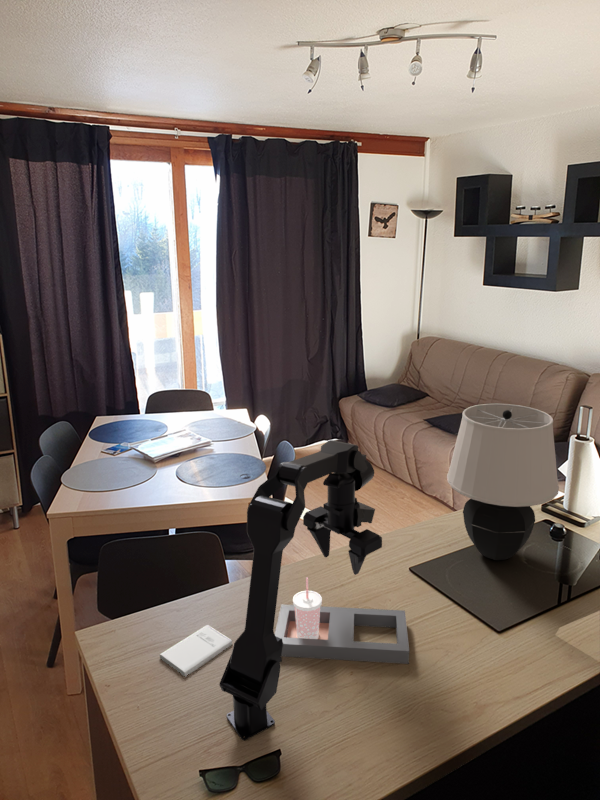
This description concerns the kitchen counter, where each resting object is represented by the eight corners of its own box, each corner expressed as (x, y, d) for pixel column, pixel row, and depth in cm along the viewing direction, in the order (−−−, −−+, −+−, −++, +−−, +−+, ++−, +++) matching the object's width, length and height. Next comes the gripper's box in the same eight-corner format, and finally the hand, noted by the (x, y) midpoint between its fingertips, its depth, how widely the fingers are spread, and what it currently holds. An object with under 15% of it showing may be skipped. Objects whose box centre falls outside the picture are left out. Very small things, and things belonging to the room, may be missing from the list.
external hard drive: (160, 660, 120) (207, 629, 129) (185, 679, 115) (232, 646, 124) (159, 653, 120) (206, 623, 128) (184, 672, 114) (232, 639, 123)
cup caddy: (404, 622, 130) (404, 610, 129) (408, 663, 117) (409, 651, 116) (281, 615, 132) (281, 604, 132) (273, 655, 120) (272, 643, 119)
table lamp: (496, 522, 173) (507, 390, 162) (574, 566, 150) (593, 416, 139) (421, 544, 162) (428, 404, 151) (493, 596, 138) (507, 434, 127)
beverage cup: (327, 639, 124) (327, 580, 120) (302, 649, 121) (301, 589, 118) (313, 623, 129) (312, 566, 126) (288, 632, 126) (286, 574, 123)
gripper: (400, 502, 122) (398, 568, 126) (337, 475, 136) (337, 536, 140) (363, 519, 115) (362, 589, 119) (301, 489, 129) (302, 553, 133)
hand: (341, 565), depth 128 cm, fingers open, 9 cm apart
